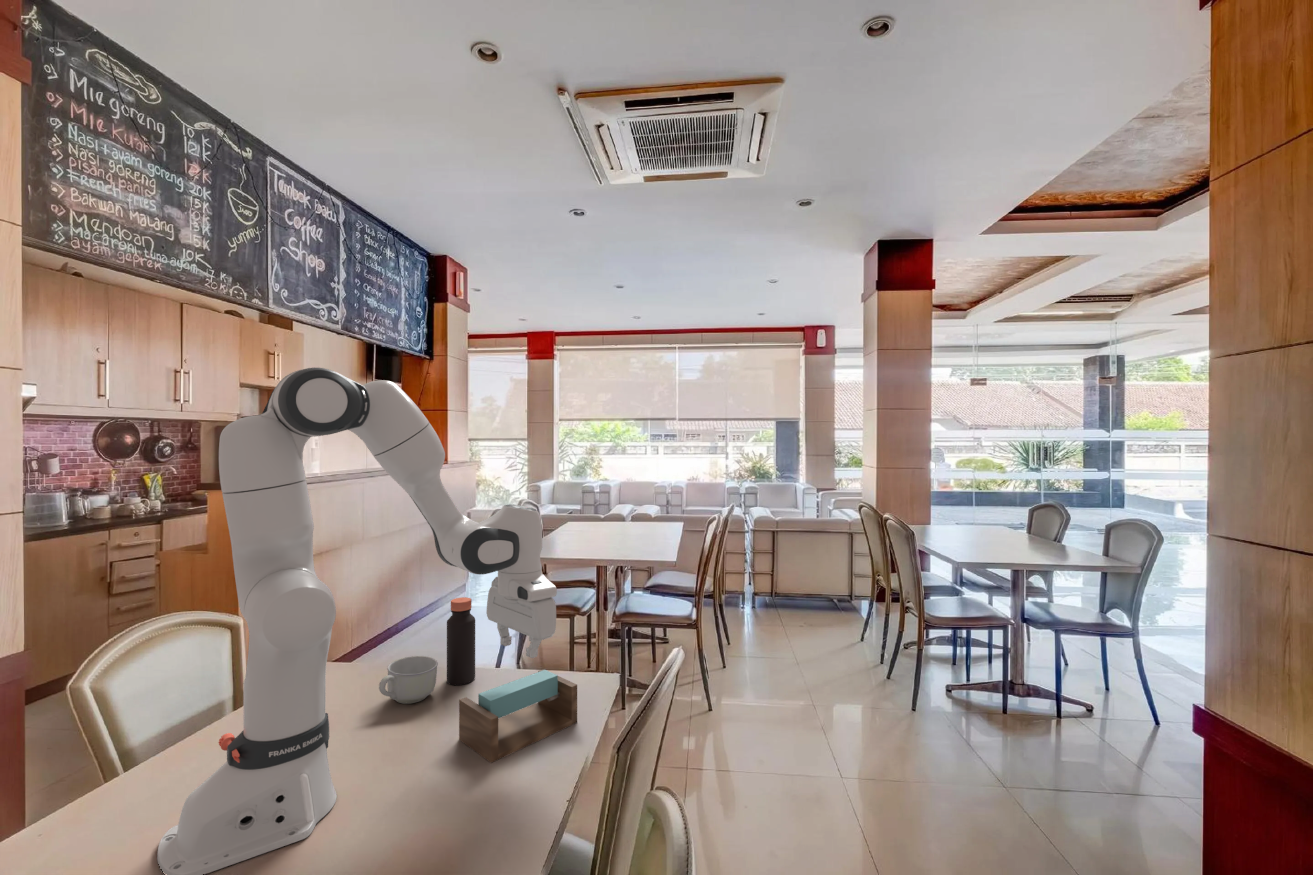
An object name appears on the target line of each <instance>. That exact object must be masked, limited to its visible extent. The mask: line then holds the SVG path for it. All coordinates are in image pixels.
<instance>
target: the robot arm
mask: <svg viewBox="0 0 1313 875" xmlns="http://www.w3.org/2000/svg"><path fill="white" fill-rule="evenodd" d="M344 431H349V432H352V433H353V434H355V436H357V437H358V438H359V439H360V440H361V441H362V442H363V443H364V444H365V447H366V448H367V449H368V451H369V452H370V453H371V455H372V456H373V458H374V459H375V460H376V462H378V465H380V466H381V468H382V469H383V470H384V471H385V472H386V473H387V474H388V476H389V477H390V478H392V479H393V480H394V481H395V482H396V483H397V484H398V485H399V486H400V487H401V488H402V489H403V490H404V492H406V493H407V494H408V495H409V498H411V500H412V501H413V503H414V504H415V506H416V507H417V509H418V510H419V512H420V514H421V515H422V516H423V518H424V519H425V521H426V522H427V524H428V525H429V527H430V529H431V532H432V534H433V538H434V545H435V549H436V552H437V555H438V557H439V558H440V559H441V561H443V562H444V563H445V564H447V565H449V566H452V567H456V568H459V569H462V570H463V571H465V572H469V573H471V574H473V575H488V574H492V573H494V572H495V573H496V572H497V576H495V577H494V579H493V580H492V581H491V587H489V590H488V594H487V602H486V617H487V620H489V621H491V622H493V623H496V626H497V627H496V629H497V631H498V634H499V637H500V643H499V644H500V645H501V646H503V647H508V646H510V645H511V644H512V636H511V635H510V632H509V629H510V630H513V631H515V632H518V633H520V634H523V635H525V636H528V641H529V642H530V644H529V647H526V648H525V651H526V652H525V655H526V657H528V658H530V659H535V658H537V656H538V653H539V652H538V651H539V646H540V645H541V643H542V640H543V641H544V640H547V639H550V638H553V636H554V634H555V633H556V628H557V604H556V602H555V599H554V597H557V594H558V592H557V590H558V589H557V587H556V585H555V584H554V583H553V582H551V580H549V579H548V578H547V577H546V575H545V574H543V572H542V570H543V566H542V562H541V554H542V550H543V549H542V548H543V526H542V518H541V515H540V512H539V511H538V510H537V509H536V508H533V507H530V506H523V505H518V504H511V503H509V504H505V505H503V506H502V507H501V509H500V510H498V511H497V512H495V513H494V514H492V515H491V516H489V517H487V518H485V519H483V520H481V521H476V520H473V519H472V518H469V517H467V516H466V515H464V514H463V513H462V512H461V511H460V509H459V508H458V506H457V505H456V503H455V502H454V500H453V499H452V497H451V495H450V494H449V492H448V490H447V489H446V488H445V486H444V484H443V482H442V480H441V479H442V478H441V469H442V468H443V466H444V463H445V458H446V452H445V448H444V447H443V444H442V441H441V439H440V437H439V435H438V434H437V432H436V431H435V429H434V427H433V426H432V424H431V423H430V421H429V420H428V418H427V417H426V416H425V415H424V412H423V411H422V410H421V409H420V408H419V406H418V405H417V404H416V403H415V402H414V401H413V399H412V398H411V397H410V396H409V395H408V394H407V393H406V392H405V391H404V390H403V389H402V388H401V387H400V386H399V385H398V384H396V383H395V382H394V381H390V380H385V379H383V380H382V379H379V380H374V381H373V380H372V381H370V382H367V383H364V384H363V385H362V384H361V383H359V382H357V381H354V380H353V379H351V378H348V377H346V376H345V375H343V374H341V373H339V372H337V371H334V370H331V369H329V368H324V367H308V368H304V369H298V370H294V371H292V372H290V373H288V374H287V375H286V376H284V377H283V378H282V379H281V380H280V381H279V382H277V385H276V386H275V387H274V389H273V390H272V392H271V394H270V395H269V398H268V401H267V403H266V405H265V406H264V409H263V411H262V413H261V414H256V415H248V416H244V417H241V418H238V419H236V420H234V421H232V422H229V424H227V425H226V426H225V427H224V428H223V430H222V431H221V433H220V435H219V446H218V470H219V472H218V473H219V474H218V475H219V482H220V488H221V494H222V499H223V505H224V510H225V516H226V522H227V527H228V533H229V538H230V539H229V540H230V544H231V553H232V562H233V564H232V565H233V571H234V572H233V574H234V578H235V585H236V586H235V587H236V594H237V600H238V608H239V611H240V613H241V615H242V616H243V618H244V620H245V621H246V623H247V624H246V625H247V629H248V652H247V661H246V669H245V670H246V671H245V675H244V676H245V677H244V681H243V723H242V724H243V728H242V731H241V732H240V733H239V734H238V735H237V736H236V737H235V735H234V734H233V733H231V732H227V733H225V734H222V735H221V736H220V737H221V738H219V740H218V742H217V743H218V745H219V747H220V749H221V750H222V751H226V760H227V761H226V762H224V763H223V764H222V765H220V767H219V768H218V769H217V770H216V771H214V773H212V774H211V775H210V776H208V778H207V779H205V780H204V781H203V782H202V783H201V784H200V785H199V786H197V787H196V788H195V789H194V790H193V791H192V792H191V793H190V794H189V795H188V796H187V797H186V799H185V801H184V804H183V806H182V809H181V812H180V815H179V819H178V824H175V825H173V826H172V827H171V828H169V829H168V830H167V831H165V833H164V834H163V836H162V837H161V839H160V841H159V843H158V847H157V855H156V856H157V857H156V860H157V864H159V865H158V867H159V866H160V868H159V870H160V869H162V871H163V872H164V873H165V874H167V875H203V874H204V875H206V874H209V873H212V872H215V871H218V870H221V869H223V868H226V867H228V866H231V865H235V864H237V863H240V862H243V861H246V860H248V859H251V858H254V857H257V856H261V855H263V854H266V853H269V852H271V851H274V850H277V849H279V848H283V847H284V846H285V847H286V846H288V845H290V844H294V843H297V842H299V841H303V840H304V839H306V838H308V837H309V836H310V835H311V834H312V833H313V831H314V829H315V827H316V825H317V824H318V823H319V821H321V820H322V819H323V818H324V817H325V816H326V815H327V814H328V813H329V812H330V811H331V810H332V808H333V807H334V806H335V804H336V802H337V797H338V796H337V795H338V794H337V792H336V789H335V786H334V783H333V780H332V775H331V770H330V765H329V759H328V757H329V756H328V748H329V740H330V720H329V713H327V712H326V696H327V695H326V694H327V693H326V692H327V690H326V689H327V688H326V686H327V685H326V684H327V682H326V681H327V680H326V675H327V661H328V654H329V650H330V645H331V639H332V633H333V626H334V624H335V620H336V616H337V608H336V607H337V605H336V601H335V598H334V594H333V592H332V590H331V589H330V587H329V586H328V585H327V584H326V582H324V581H322V580H321V579H319V577H318V575H317V572H316V570H315V562H314V561H315V560H314V539H313V538H314V529H315V525H314V518H313V513H312V512H313V511H312V507H311V501H310V496H309V495H310V493H309V488H308V482H307V476H306V472H305V467H304V462H303V460H304V455H303V454H304V450H305V449H304V448H305V445H306V444H307V442H308V441H309V440H310V438H312V437H314V438H315V437H322V436H328V435H333V434H338V433H342V432H344ZM162 871H161V872H162Z"/></svg>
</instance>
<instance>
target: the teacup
mask: <svg viewBox="0 0 1313 875" xmlns="http://www.w3.org/2000/svg"><path fill="white" fill-rule="evenodd" d="M438 665H439V662H438V660H436V659H435V658H434V657H432V656H426V655H414V656H413V655H410V656H406V657H402V658H398V659H396V660H394V661H392V662H390V663H389V664H388V665H387V668H386V669H387V675H385V676H384V677H382V678H381V680H380V682H379V684H378V690H379V692H380V694H382V695H383V696H386V697H389V698H390V699H391V700H395V701H396V702H398V703H400V704H404V705H406V704H408V705H409V704H415V703H418V702H422V701H423V700H424V699H426V698H427V697H428V696H429V695H431V694H432V692H433V691H434V689H435V687H436V684H437V683H436V682H437V673H438V670H437V669H438ZM386 685H387V689H386Z"/></svg>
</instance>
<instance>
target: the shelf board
mask: <svg viewBox="0 0 1313 875" xmlns="http://www.w3.org/2000/svg"><path fill="white" fill-rule="evenodd" d="M542 670H543V669H542ZM539 671H540V670H539ZM558 676H559V675H558V674H556V673H553V672H551V671H549V670H546V669H544V670H543V671H540V672H538V671H537V672H535V673H533V674H530V675H526V676H524V677H521V678H518V679H516V680H513V681H509V682H507V683H505V684H501V685H499V686H498V685H497V686H495V687H493V688H490V689H488V690H484V691H482V692H480V693H478V703H477V704H478V705H480V706H481V707H483V708H485V709H486V710H488V711H490V712H491V713H493V714H494V715H496V716H498V719H499V718H501V717H504V716H506V715H508V714H511V713H513V712H516V711H518V710H521V709H523V708H525V707H528V706H530V705H533V704H535V703H538V702H540V701H542V700H545V699H547V698H549V697H552V696H554V695H557V694H558Z"/></svg>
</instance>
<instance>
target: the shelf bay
mask: <svg viewBox="0 0 1313 875" xmlns="http://www.w3.org/2000/svg"><path fill="white" fill-rule="evenodd" d="M543 670H545V669H544V668H543V669H541V670H538V671H537V672H540V671H543ZM458 709H459V710H458V711H459V712H458V733H459V734H458V740H459V741H460V742H462V743H463V744H464V745H466V746H467V747H469V748H470V749H471V750H473V751H474V752H475V753H477V754H478V755H479V756H480V757H482V758H483V759H485V760H487V761H488V762H489V763H490V764H493V763H494V762H496V761H498V760H501V759H503V758H506V757H507V756H509V755H511V754H514V753H516V752H518V751H520V750H523V749H524V748H526V747H528V746H531V745H533V744H534V743H536V742H539V741H541V740H543V739H545V738H547V737H550V736H552V735H554V734H556V733H558V732H560V731H562V730H564V729H567V728H568V727H571V726H573V725H575V724H578V684H576V683H575V682H572V681H570V680H568V679H566V678H563V677H561V676H559V675H558V694H557V695H554V696H552V697H549V698H547V699H545V700H542V701H540V702H537V703H535V704H532V705H530V706H527V707H525V708H523V709H520V710H518V711H515V712H513V713H510V714H508V715H506V716H503V717H501V718H498V716H496V715H494V714H493V713H491V712H490V711H488V710H486V709H485V708H483V707H481V706H480V705H478V703H476V702H475V701H473V700H471V699H470V698H468V697H467V696H465V697H463V698H460V699H459V700H458Z"/></svg>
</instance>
